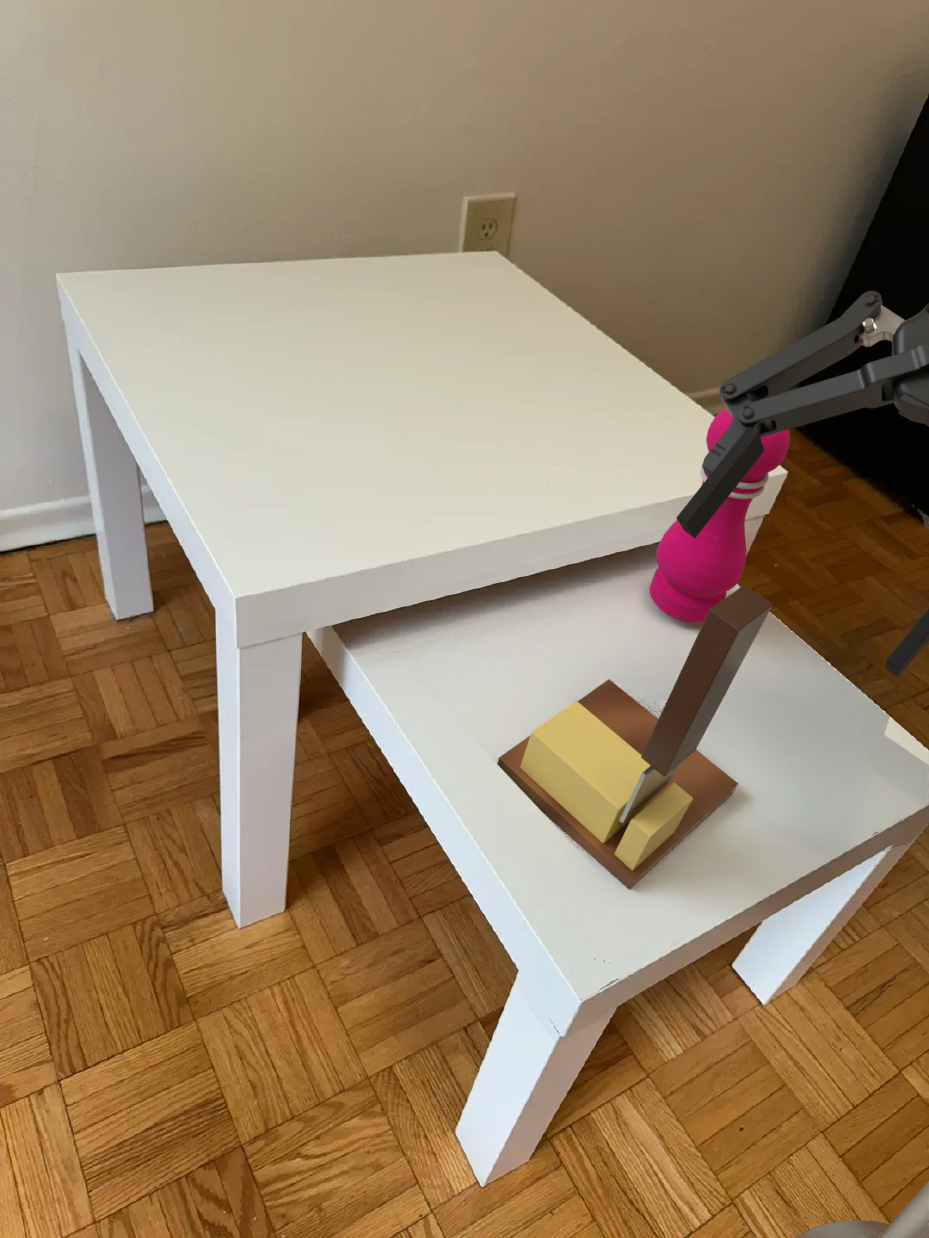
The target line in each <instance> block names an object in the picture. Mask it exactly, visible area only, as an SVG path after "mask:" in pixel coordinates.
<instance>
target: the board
mask: <svg viewBox="0 0 929 1238" xmlns="http://www.w3.org/2000/svg"><path fill="white" fill-rule="evenodd" d="M576 701H577V702H579V703H580V704H581V705H582V706H583V707H585V708H586V709H587V710H588V711H589V712H591V713H592V714H593V715H594V716H595V717H597V718H598V719H599V720H600V721H601V722H603V723H604V724H605V725H606V726H607V727H609V728H610V729H611V730H612V731H613V732H614V733H616V734H617V735H618V736H619V737H620V738H622V739H623V740H624V741H625V742H626V743H628V744H629V745H630V746H631V747H632V748H634V749H635V750H636V751H637V752H638V753H640V754H641V755H642V753H643V751H644V749H645V747H646V745H647V743H648V741H649V738H650V736H651V734H652V732H653V730H654V728H655V726H656V723H657V721H658V719H659V717H657V716H655V715H654V714H653V713H652V712H651V711H649V710H648V709H647V708H646V707H644V706H643V705H642V704H641V703H639V702H638V701H637V700H636V699H635V698H633V696H631V695H629V694H628V693H627V692H626V691H625V690H624V689H622V688H621V687H620V686H619V685H617V684H616V683H615V682H613V681H612V680H611V679H609V678H608V679H607V680H605V681H604V682H603V683H600V685H598V686H597V687H595V688H594V689H593V690H591V691H590V692H589V693H587V694H586V695H584V696H583V697H582V698H580V699H578V700H576ZM529 739H530V735H529V736H527V737H526V738H524V739H523V740H521V741H520V742H519V743H517V744H516V745H515V746H513V747H512V748H510V749H508V750H507V751H506V752H505V753H503V754H502V755H501V756H499V757H498V759H497V763H496V765H497V766H498V767H499V768H500V769H501V770H502V771H503V772H504V773H505V775H507V777H508V778H509V779H510V780H511V781H512V782H513V783H514V784H515V785H516V786H517V787H518V788H519V790H521V792H523V794H524V795H525V796H526V797H527V798H528V799H529V800H530V801H531V803H533V804H534V806H536V807H537V809H538V810H539V811H540V812H542V813H543V814H544V816H546V817H547V818H548V819H549V820H550V821H552V823H554V824H555V825H556V826H557V827H558V828H559V829H560V830H562V831H563V832H564V833H565V834H566V835H567V836H568V837H569V838H571V839H572V841H574V842H575V843H576V844H577V845H578V846H579V847H580V848H582V849H583V850H584V851H585V852H586V853H587V854H588V855H590V857H592V858H593V859H594V860H595V861H596V862H597V863H599V864H600V866H602V867H603V868H604V869H605V870H606V871H608V873H610V874H611V875H612V876H613V877H614V878H615V879H616V880H618V881H619V883H620V884H622V885H623V886H624V887H626V888H627V889H628V890H631V889H632V888H633V887H634V886H635V885H636V884H637V883H639V881H640V880H641V879H643V878H644V877H645V876H646V875H648V873H650V871H652V869H653V868H655V866H657V864H659V863H660V862H661V861H662V860H663V859H664V858H665V857H666V856H667V855H668V854H670V852H672V851H673V850H674V848H676V847H677V846H678V845H679V844H681V842H682V841H684V839H686V838H687V837H688V836H689V835H690V834H691V833H692V832H693V831H694V830H695V829H697V828H698V826H700V825H701V824H703V822H704V821H705V820H706V819H707V818H708V817H709V816H710V815H711V814H712V813H714V812H715V811H716V810H717V809H718V808H719V807H720V806H721V805H722V804H723V803H724V802H725V801H726V800H727V799H729V798H730V797H731V796H732V795H733V793H734V792H735V790H736V788H737V787H738V785H739V783H738V782H737V781H736V780H735V779H734V778H732V777H731V776H730V775H729V774H727V773H726V772H725V771H724V770H722V769H721V768H720V767H719V766H717V765H716V763H714V762H712V761H711V760H710V759H709V758H708V757H706V756H705V755H704V754H702V752H701V751H699V750H698V749H696V750H695V751H694V752H693V753H692V754H691V755H690V756H688V757H687V758H686V759H685V760H684V761H683V762H681V763H680V764H679V765H678V767H677V768H676V770H675V772H674V774H673V776H672V778H671V780H670V782H669V784H668V785H667V786H666V787H664V788H663V789H662V790H661V791H660V792H659V793H657V794H656V795H655V796H654V797H653V798H652V799H651V800H649V801H648V803H647V805H646V806H648V805H649V804H650V803H651V802H652V801H653V800H654V799H656V798H657V797H658V796H659V795H660V794H661V793H662V792H664V791H665V790H666V789H667V788H668V787H669V786H670V785H672V784H673V783H676V784H677V785H678V786H679V787H680V788H682V789H683V790H684V791H685V792H686V793H688V794H689V795H690V796H691V797H692V798H693V800H692V802H691V803H690V805H689V807H688V809H687V810H686V812H685V814H684V816H683V818H682V819H681V821H680V823H679V825H678V826H677V828H676V830H675V832H674V833H673V834H672V835H671V836H670V837H669V838H668V839H667V840H666V841H665V842H663V843H662V844H661V845H660V846H659V847H658V848H657V849H656V850H655V851H654V852H653V853H652V854H650V855H649V856H648V857H647V858H646V859H645V860H644V861H643V862H642V863H641V864H640V865H639V866H637V867H636V868H635V869H634V870H633V871H632V870H631V869H630V868H629V867H628V866H626V865H625V864H624V863H623V862H622V861H621V860H620V859H619V858H618V857H617V856H615V852H616V850H617V848H618V846H619V844H620V841H621V839H622V837H623V835H624V833H625V831H626V829H627V827H628V825H629V823H630V821H631V820H630V821H629V822H628V823H627V824H626V825H625V826H624V827H622V828H621V829H620V830H619V831H618V832H617V833H615V834H614V835H613V836H612V837H611V838H610V839H609V840H607V841H606V842H605V843H604V844H603V843H602V842H601V841H599V840H598V839H597V838H596V837H595V836H594V835H593V834H592V833H591V832H590V831H589V830H587V829H586V828H585V827H584V826H583V825H582V824H581V823H580V822H579V821H578V820H576V819H575V818H574V817H573V816H572V815H571V814H570V813H569V812H568V811H567V810H566V809H564V808H563V807H562V806H561V805H560V804H559V803H558V802H557V801H556V800H555V799H554V798H552V797H551V796H550V795H549V794H548V793H547V792H546V791H545V790H544V789H543V788H541V787H540V786H539V785H538V784H537V783H536V782H535V781H534V780H533V779H532V778H531V777H529V776H528V775H527V774H526V773H525V772H524V771H523V770H522V769H521V768H520V767H521V763H522V760H523V757H524V754H525V751H526V748H527V745H528V742H529Z"/></svg>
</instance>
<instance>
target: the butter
mask: <svg viewBox="0 0 929 1238" xmlns="http://www.w3.org/2000/svg"><path fill="white" fill-rule="evenodd" d="M577 701H578V700H574V701H573V702H571V703H570V704H568V705H567V706H566V707H564V708H563V709H561V710H559V712H558V713H557V712H556V714H555V715H553V716H552V717H550V718H549V719H548V720H546V721H545V722H543V723H542V724H540V725H538V726H537V727H536V728H535V729H533V730H532V731H531V733H530V734H529V736H530V739H529V742H528V745H527V748H526V751H525V754H524V757H523V760H522V763H521V767H520V768H521V769H522V770H523V771H524V772H525V773H526V774H527V775H528V776H529V777H531V778H532V779H533V780H534V781H535V782H536V783H537V784H538V785H539V786H540V787H541V788H543V789H544V790H545V791H546V792H547V793H548V794H549V795H550V796H551V797H552V798H554V799H555V800H556V801H557V802H558V803H559V804H560V805H561V806H562V807H563V808H564V809H566V810H567V811H568V812H569V813H570V814H571V815H572V816H573V817H574V818H575V819H576V820H578V821H579V822H580V823H581V824H582V825H583V826H584V827H585V828H586V829H587V830H589V831H590V832H591V833H592V834H593V835H594V836H595V837H596V838H597V839H598V840H599V841H601V842H602V843H603V844H604V843H605V842H606V841H607V840H609V839H610V838H611V837H612V836H613V835H614V834H615V833H617V832H618V831H619V830H620V829H621V828H622V827H624V826H625V825H626V824H627V823H628V822H629V821H630V820H631V821H630V823H629V825H628V827H627V829H626V831H625V833H624V835H623V837H622V839H621V841H620V844H619V846H618V848H617V850H616V852H615V856H617V857H618V858H619V859H620V860H621V861H622V862H623V863H624V864H625V865H626V866H628V867H629V868H630V869H631V870H632V871H633V870H634V869H635V868H636V867H637V866H639V865H640V864H641V863H642V862H643V861H644V860H645V859H646V858H647V857H648V856H649V855H650V854H652V853H653V852H654V851H655V850H656V849H657V848H658V847H659V846H660V845H661V844H662V843H663V842H665V841H666V840H667V839H668V838H669V837H670V836H671V835H672V834H673V833H674V832H675V830H676V828H677V826H678V825H679V823H680V821H681V819H682V818H683V816H684V814H685V812H686V810H687V809H688V807H689V805H690V803H691V802H692V800H693V798H692V797H691V796H690V795H689V794H688V793H686V792H685V791H684V790H683V789H682V788H680V787H679V786H678V785H677V784H676V783H673V784H672V785H670V786H669V787H668V788H667V789H666V790H665V791H664V792H662V793H661V794H660V795H659V796H658V797H657V798H656V799H654V800H653V801H652V802H651V803H650V804H649V805H648V806H646V805H647V803H648V802H647V803H646V804H645V805H644V806H642V807H641V808H640V809H639V810H638V811H637V812H636V813H634V814H633V815H632V816H631V817H630V818H629V819H628V820H626V821H625V822H624V823H621V822H620V821H619V820H620V818H621V816H622V814H623V811H624V809H625V807H626V805H627V803H628V801H629V799H630V797H631V795H632V793H633V791H634V788H635V786H636V784H637V782H638V780H639V778H640V776H641V774H642V772H644V771H645V770H646V769H647V768H648V767H650V765H649V764H648V763H647V762H646V761H644V760H643V759H642V758H641V754H640V753H638V752H637V751H636V750H635V749H634V748H632V747H631V746H630V745H629V744H628V743H626V742H625V741H624V740H623V739H622V738H620V737H619V736H618V735H617V734H616V733H614V732H613V731H612V730H611V729H610V728H609V727H607V726H606V725H605V724H604V723H603V722H601V721H600V720H599V719H598V718H597V717H595V716H594V715H593V714H592V713H591V712H589V711H588V710H587V709H586V708H585V707H583V706H582V705H581V704H580V703H579V702H577Z"/></svg>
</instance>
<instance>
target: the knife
mask: <svg viewBox="0 0 929 1238" xmlns="http://www.w3.org/2000/svg"><path fill="white" fill-rule="evenodd" d="M773 605H774V604H773V603H771V602H770V601H769V600H767V599H766V598H765V597H763V596H762V595H760V594H759V593H757V592H756V591H754V590H753V589H751V588H750V587H749V586H747V585H746V584H743V585H741V587H739V588H738V589H736V590H735V591H733V592H732V593H731V594H729V595H728V596H726V598H725V599H724V600H722V601H721V602H720V603H718V604H717V605H715V606H714V607H713V608H711V609H710V610H709V612H708V614H707V616H706V618H705V621H704V622H702V625H701V627H700V629H699V632H698V634H697V636H696V638H695V640H694V641H693V644H692V646H691V649H690V650H689V653H688V655H687V657H686V659H685V662H684V664H683V665H682V668H681V670H680V672H679V674H678V677H677V678H676V680H675V683H674V685H673V687H672V689H671V691H670V693H669V696H668V697H667V700H666V702H665V704H664V706H663V709H662V711H661V713H660V714H659V717H658V721H657V723H656V726H655V728H654V730H653V732H652V734H651V736H650V738H649V741H648V743H647V745H646V747H645V749H644V751H643V753H642V755H641V758H642V759H643V760H644V761H646V762H647V763H648V764H649V765H650V767H648V768H647V769H646V770H645V771H644V772H642V774H641V776H640V778H639V780H638V782H637V784H636V786H635V788H634V791H633V793H632V795H631V797H630V799H629V801H628V803H627V805H626V807H625V809H624V811H623V814H622V816H621V818H620V820H619V821H620V822H621V823H624V822H625V821H626V820H628V819H629V818H630V817H631V816H632V815H633V814H634V813H636V812H637V811H638V810H639V809H640V808H641V807H642V806H644V805H645V804H646V803H647V802H648V801H649V800H651V799H652V798H653V797H654V796H655V795H656V794H657V793H659V792H660V791H661V790H662V789H663V788H664V787H666V786H667V785H668V784H669V782H670V780H671V778H672V776H673V774H674V772H675V770H676V768H677V767H678V765H679V764H680V763H681V762H683V761H684V760H685V759H686V758H687V757H688V756H690V755H691V754H692V753H693V752H694V751H695V750H698V747H699V745H700V743H701V742H702V741H701V740H702V739H703V737H704V736H705V733H706V731H707V730H708V728H709V727H710V724H711V722H712V720H713V719H714V717H715V714H716V713H717V711H718V709H719V707H720V706H721V703H722V701H723V700H724V698H725V696H726V694H727V692H728V690H729V688H730V686H731V685H732V683H733V680H734V679H735V677H736V675H737V673H738V671H739V669H740V667H741V666H742V664H743V662H744V660H745V658H746V656H747V654H748V652H749V651H750V649H751V647H752V645H753V643H754V641H755V640H756V638H757V635H758V633H759V632H760V630H761V628H762V626H763V625H764V622H765V620H766V619H767V616H768V615H769V613H770V611H771V610H772V608H773Z"/></svg>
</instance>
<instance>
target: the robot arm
mask: <svg viewBox="0 0 929 1238" xmlns="http://www.w3.org/2000/svg"><path fill="white" fill-rule="evenodd" d="M880 341H889V342H892V343H891V355H890V356H886V357H883V358H880V359H877V360H872V361H870V362H868V363H865V364H864V365H863V366H862V367H860V368H859V369H857V370H853V371H851V372H847V373H844V374H841V375H838V376H833V377H831V378H827V379H823V380H821V381H818V382H814V383H811V384H808V385H803V386H801V387H797V388H794V389H791V390H788V389H790V388H791V387H793V386H796V385H797V384H800V382H803V381H804V380H806V379H808V378H810V377H812V376H814V375H815V374H817V373H819V372H821V371H823V370H824V369H827V368H828V367H830V366H832V365H834V364H835V363H837V362H839V361H841V360H843V359H845V358H846V357H848V356H850V355H851V354H853V353H854V352H855V351H856V350H858V349H859V348H860V347H861V346H863V347H865V348H870V347H872V346H874V345H875V344H877V343H878V342H880ZM786 390H788V391H786ZM784 391H785V392H784ZM719 395H720V398H721V401H722V403H723V405H724V408H726V411H727V412H728V413H729V414H730V415H731V416H732V418H733V420H732V423H731V425H730V426H729V427H728V429H727V430H726V431H725V432H724V434H723V435H722V436H721V437H720V439H719V440H718V441H717V443H716V444H715V445H714V446H713V448H712V449H711V450H710V451H708V452H707V454H706V455H705V456H704V459H703V461H702V465H701V467H703V469H704V472H705V474H706V475H707V476H709V477H708V478H707V480H706V481H705V482H704V483H703V485H702V484H701V486H700V487H699V489H698V490H697V491H696V492H695V493H694V494H693V496H692V497H691V499H690V500H689V501H688V502H687V504H686V505H685V506H684V507H683V509H682V510H681V511H680V512H679V514H678V515H677V516H676V517H675V520H678V522H679V523H680V525H681V526H682V528H683V530H684V531H685V532H686V533H688V534H689V535H690V536H692V537H693V538H696V536H697V535H698V534H699V533H700V531H701V530H702V529H703V528H704V526H705V525H706V524H707V523H708V521H709V520H710V519H711V518H712V516H713V515H714V514H715V513H716V511H717V510H718V509H719V508H720V506H721V505H722V504H723V503H724V501H725V500H726V499H727V498H728V496H729V495H730V494H731V492H732V491H733V490H734V489H735V487H736V486H737V485H738V484H739V482H740V481H741V480H742V479H743V477H744V476H745V475H746V474H747V472H748V471H749V470H750V469H751V467H752V466H753V465H754V464H755V462H756V461H757V460H758V459H759V457H760V456H761V455H762V454H763V452H764V451H765V450H764V447H763V444H762V440H761V437H764V436H767V435H770V434H774V433H777V432H781V431H784V430H788V429H789V430H792V429H794V428H798V427H801V426H805V425H808V424H812V423H815V422H816V423H817V422H819V421H822V420H826V419H830V418H833V417H836V416H840V415H843V414H847V413H850V412H853V411H857V410H860V409H864V408H865V409H866V408H867V409H876V408H880V407H884V406H887V405H891V404H894V406H895V407H896V409H897V410H898V415H900V416H902V417H904V418H906V419H907V420H909V421H911V422H915V423H920V424H923V425H926V426H927V427H928V428H929V302H928V303H927V304H926V306H925V307H924V308H923V309H922V310H921V311H919V312H918V313H917V314H915V315H913V316H912V317H909V318H908V319H905V318H903V317H901V316H900V315H898V314H896V313H895V312H893V311H891V310H890V309H889V308H887V307H885V306H884V305H883V298H882V295H881V294H880V292H879V291H875V290H867V291H865V292H863V293H862V294H861V295H860V296H858V298H857V299H856V300H855V301H854V302H853V303H852V304H851V305H850V306H849V307H848V308H847V309H846V310H845V311H844V312H843V314H842V315H840V316H839V317H838V318H836V319H834V320H833V321H831V322H829V323H827V324H826V325H824V326H822V327H820V328H819V329H817V330H815V331H813V332H811V333H808V334H807V335H806V336H804V337H802V338H800V339H799V340H797V341H795V342H793V343H791V344H790V345H788V346H786V347H784V348H782V349H781V350H779V351H777V352H775V353H774V354H772V355H769V356H768V357H766V358H764V359H762V360H761V361H759V362H757V363H756V364H753V365H752V366H750V367H748V368H746V369H745V370H743V371H741V372H739V373H737V374H735V375H734V376H732V377H730V378H728V379H727V380H725V381H724V382H722V383H721V385H720V386H719ZM927 643H929V608H928V609H927V611H925V613H924V614H923V615H922V616H921V618H919V620H918V621H917V622H916V624H914V626H913V627H912V628H911V629H910V631H909V632H908V633H907V634H906V636H905V637H904V638H903V639H902V640H901V642H900V643H899V644H898V645H897V647H896V648H895V649H894V650H893V651H892V653H890V655H889V656H888V657H887V659H885V670H886V671H887V672H889V673H891V674H892V675H893V676H895V677H896V678H899V677H900V676H901V675H902V674H903V673H904V671H905V670H906V669H907V667H908V666H909V665H910V664H911V663H912V662H913V661H914V660H915V658H916V657H917V656H918V655H919V653H920V652H921V651H922V650H923V649H924V647H925V646H926V645H927ZM794 1238H929V1180H928V1181H927V1182H926V1183H925V1184H924V1185H923V1186H922V1188H921V1189H920V1190H919V1191H918V1193H916V1195H915V1196H914V1197H912V1199H911V1200H910V1202H908V1203H907V1205H906V1206H905V1207H904V1208H903V1209H902V1210H901V1211H900V1212H899V1213H898V1215H897V1216H896V1217H894V1219H893V1220H892V1221H891V1222H890V1223H887V1222H881V1221H879V1220H878V1221H877V1220H860V1219H851V1220H841V1221H833V1222H828V1223H825V1224H821V1225H817V1226H814V1227H812V1228H810V1229H808V1230H806V1231H805V1232H803V1233H801V1234H799V1235H797V1236H795V1237H794Z"/></svg>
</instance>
